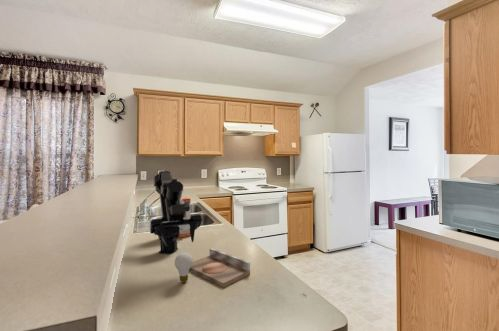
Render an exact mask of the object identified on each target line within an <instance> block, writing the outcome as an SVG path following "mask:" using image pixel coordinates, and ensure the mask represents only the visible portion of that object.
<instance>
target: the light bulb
mask: <svg viewBox="0 0 499 331" xmlns="http://www.w3.org/2000/svg"><path fill="white" fill-rule="evenodd" d="M192 262H193V257H192V255H191V254H189V253H188V252H181V253H179V254H178V255H177V256H176V257H175V259H174V266H175V268H176V269H177V271H178V274H179V281H180V282H182V283H186V282H187V281H188V280H189V279H188V278H189V272H190V271H189V269H190V267H191V265H192Z"/></svg>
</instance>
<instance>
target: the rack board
mask: <svg viewBox="0 0 499 331" xmlns="http://www.w3.org/2000/svg"><path fill="white" fill-rule="evenodd" d="M208 250H209V255H208V256H206V257H203V258H200V259H197V260H193V261H192V265H191V267H190V269H189V272H191V273H194V274H195V275H197V276H199V277H201V278H203V279H205V280H207V281H209V282H211V283H213V284H215V285H217V286H219V287H221V288H226V287H228V286H230V285H232V284H234V283H235V282H238V281H239V280H241V279H244V278H246V277H247V276H249V275H251V261H248V260H246V259H243V258H240V257H237V256H235V255H233V254H229V253H227V252H224V251H221V250H218V249H215V248H212V247H211V248H209V249H208Z"/></svg>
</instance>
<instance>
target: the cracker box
mask: <svg viewBox="0 0 499 331" xmlns="http://www.w3.org/2000/svg"><path fill="white" fill-rule="evenodd" d="M186 202H189V205H190V210H189V211H187V212H185V217H183V218H184V219H190V217H191V215H192V214H191V197H181V199H180V203H181V204H184V203H186ZM179 227H180V230H179V237H178V238H177V239H181V238H188V237H191V236H190V226H189V224H187V225H179Z"/></svg>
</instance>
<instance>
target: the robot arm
mask: <svg viewBox="0 0 499 331" xmlns="http://www.w3.org/2000/svg"><path fill="white" fill-rule="evenodd" d="M153 187H155V191H156V192H157V194H158V195H159V201H160V202H159V203H160V209H161V210H160V211H161V218H152V219H151V220H150V225H149V232H150V234H154V235H155V236H157V238H158V240H159V241H160V242H159V243H160V249H159V251H158V253H159V254H168V255H169V254H173V253H175V252H177V250H178V249H179V248H178V240H177V239H179V238H178V237H179V230H180V227H179V225H187V224H189V226H190V236H189V237H190V241H191V243H194V240H195V232H196V230H197V229H199V228H200V226H201V224H202V223H203V222H202V221H203V216H202V215H201V214H200V213H197V214H191V217H190V219H184V218H183V217H185V212H187V211H189V210H190V207H191V204H190V205H189V202H186V203H184V204H181V203H180V199H181V198H182V196H183V191H184V184H183V182H181V181H178V180H177V178H174V179H173V176H172V175H171V171H169V170H162V171H161V170H160V171H158V174H156V175H155V176H154V178H153Z"/></svg>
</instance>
